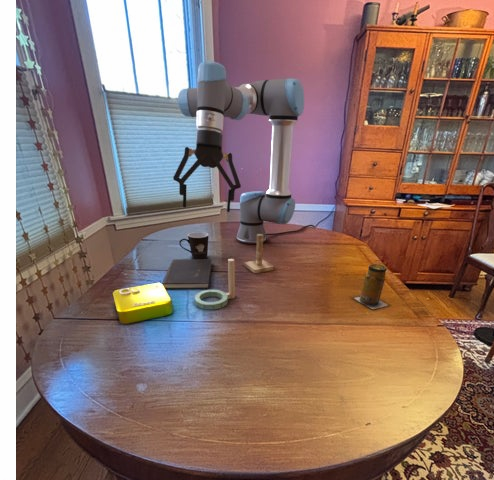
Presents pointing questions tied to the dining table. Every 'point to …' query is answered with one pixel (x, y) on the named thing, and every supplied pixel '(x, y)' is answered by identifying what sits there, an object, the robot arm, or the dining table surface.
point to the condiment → (373, 287)
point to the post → (259, 259)
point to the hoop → (218, 292)
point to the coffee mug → (197, 244)
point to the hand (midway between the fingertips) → (206, 209)
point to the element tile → (142, 303)
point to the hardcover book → (188, 274)
